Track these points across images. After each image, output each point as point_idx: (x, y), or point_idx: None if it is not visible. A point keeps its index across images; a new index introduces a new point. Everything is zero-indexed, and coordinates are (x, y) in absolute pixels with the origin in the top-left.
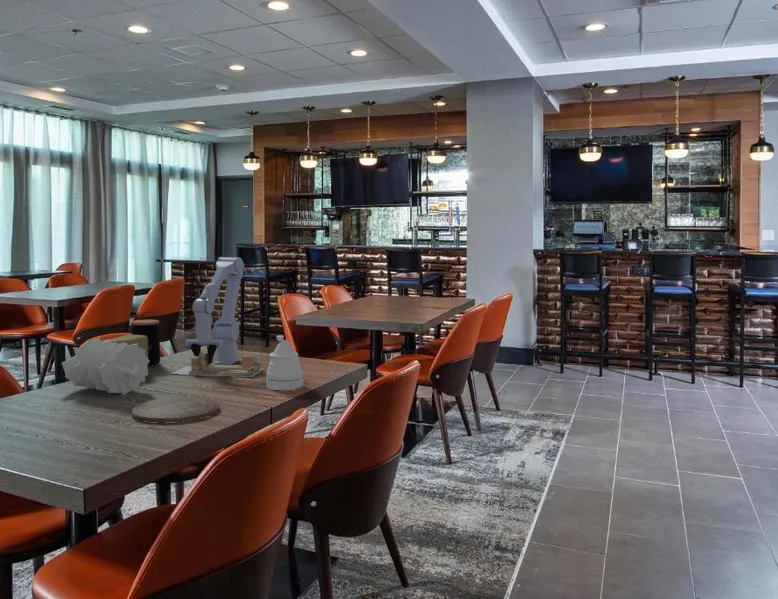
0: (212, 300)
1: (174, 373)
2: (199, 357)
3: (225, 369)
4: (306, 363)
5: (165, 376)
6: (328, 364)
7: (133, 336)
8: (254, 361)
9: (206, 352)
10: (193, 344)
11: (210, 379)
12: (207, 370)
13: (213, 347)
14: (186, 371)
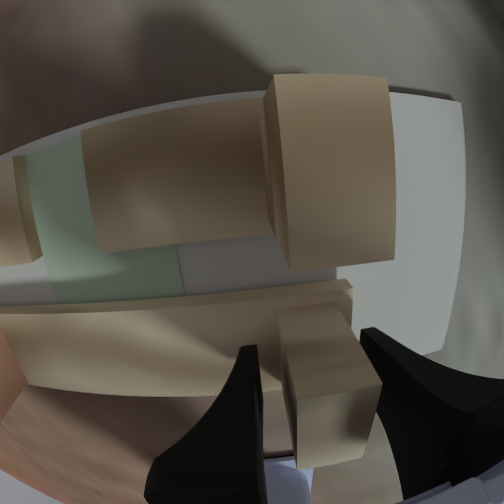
0: None
1: (444, 109)
2: (283, 180)
3: (89, 304)
4: (2, 454)
5: (454, 51)
6: None
7: None
8: None
9: (317, 454)
10: (498, 455)
11: (79, 29)
12: (174, 174)
13: (145, 488)
14: (400, 197)
